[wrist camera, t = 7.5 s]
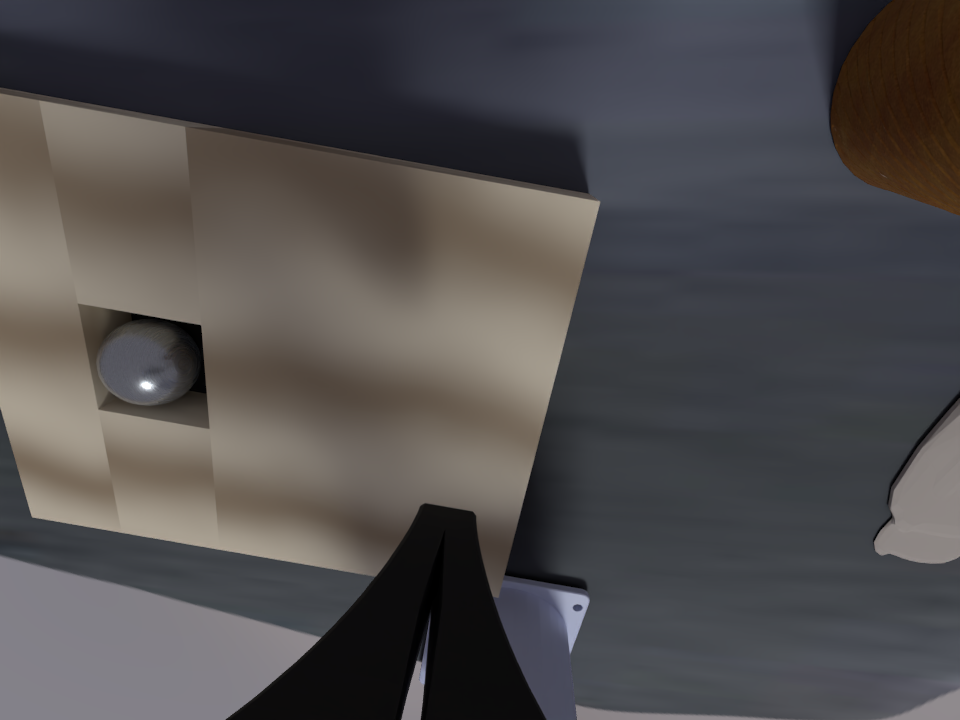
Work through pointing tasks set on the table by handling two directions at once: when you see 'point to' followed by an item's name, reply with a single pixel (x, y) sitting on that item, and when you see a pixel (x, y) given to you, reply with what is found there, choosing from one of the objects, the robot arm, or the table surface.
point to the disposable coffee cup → (904, 103)
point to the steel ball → (148, 362)
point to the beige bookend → (927, 499)
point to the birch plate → (276, 333)
